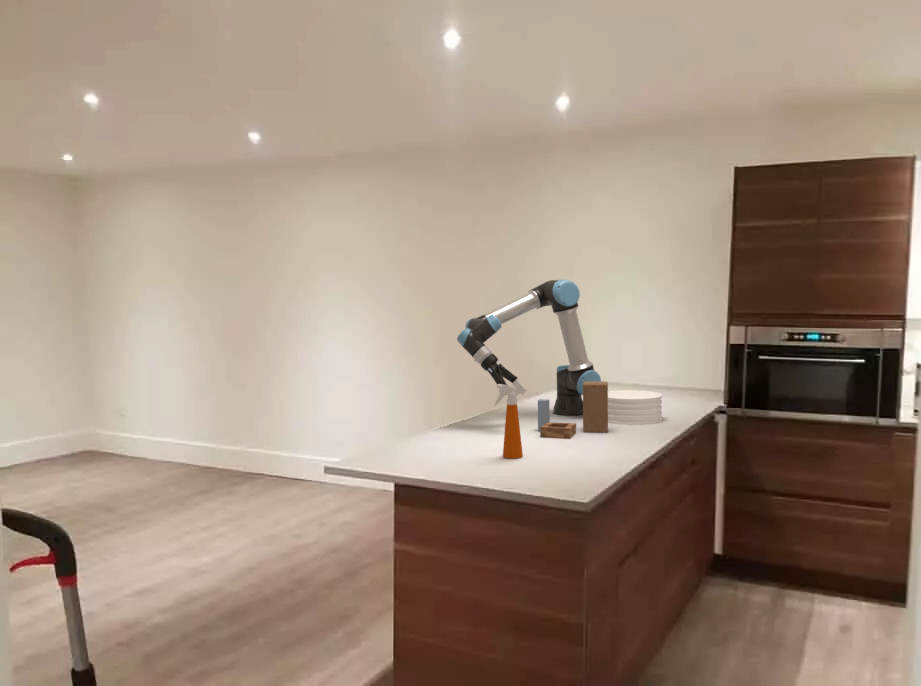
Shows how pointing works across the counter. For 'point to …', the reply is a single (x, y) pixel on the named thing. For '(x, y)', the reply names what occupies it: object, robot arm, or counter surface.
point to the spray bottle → (511, 423)
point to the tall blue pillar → (543, 412)
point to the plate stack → (634, 407)
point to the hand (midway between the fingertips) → (520, 394)
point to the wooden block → (595, 406)
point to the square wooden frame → (558, 430)
